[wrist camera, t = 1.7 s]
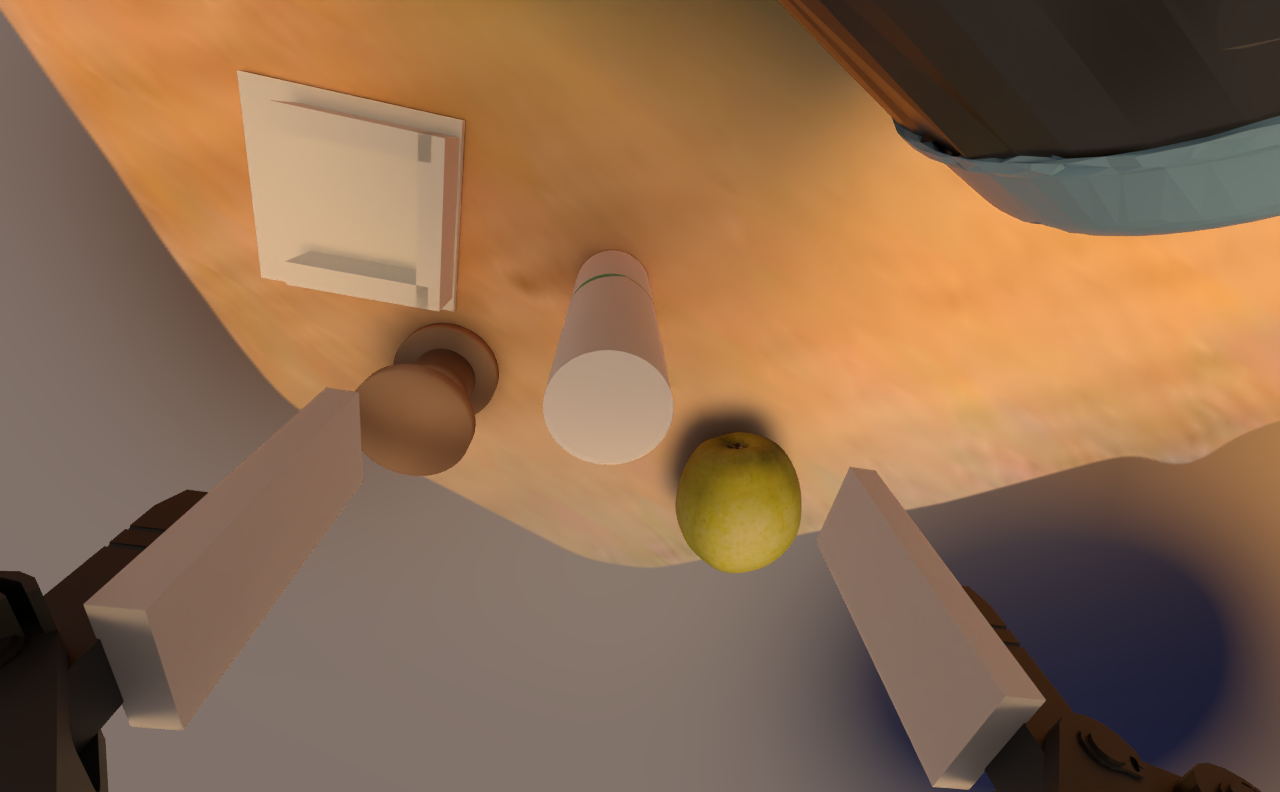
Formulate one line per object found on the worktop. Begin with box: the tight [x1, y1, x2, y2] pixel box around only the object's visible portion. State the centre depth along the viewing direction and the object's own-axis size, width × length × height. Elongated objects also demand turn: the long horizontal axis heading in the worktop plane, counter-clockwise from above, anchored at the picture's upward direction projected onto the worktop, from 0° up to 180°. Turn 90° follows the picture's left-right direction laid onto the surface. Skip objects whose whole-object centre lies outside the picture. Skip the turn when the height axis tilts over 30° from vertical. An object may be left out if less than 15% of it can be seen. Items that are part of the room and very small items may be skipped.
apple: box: [676, 432, 801, 573], centre depth 33 cm, size 8×9×8 cm
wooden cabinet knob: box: [355, 324, 499, 476], centre depth 29 cm, size 6×6×7 cm
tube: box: [543, 250, 673, 465], centre depth 24 cm, size 4×4×15 cm
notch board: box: [237, 70, 465, 312], centre depth 27 cm, size 10×10×3 cm
